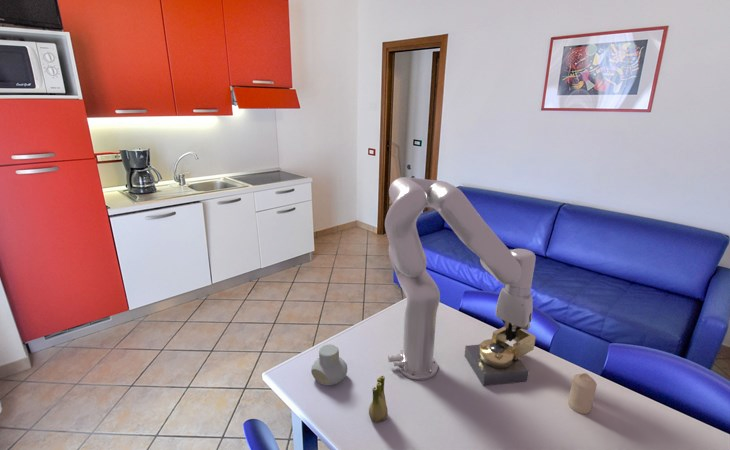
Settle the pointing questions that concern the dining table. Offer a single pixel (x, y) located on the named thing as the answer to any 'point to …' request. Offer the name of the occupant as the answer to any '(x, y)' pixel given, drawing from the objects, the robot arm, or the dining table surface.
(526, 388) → the dining table surface
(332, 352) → the air freshener
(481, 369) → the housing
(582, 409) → the candle
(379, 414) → the fennel bulb
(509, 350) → the brass mechanical fitting
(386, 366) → the dining table surface
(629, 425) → the dining table surface
